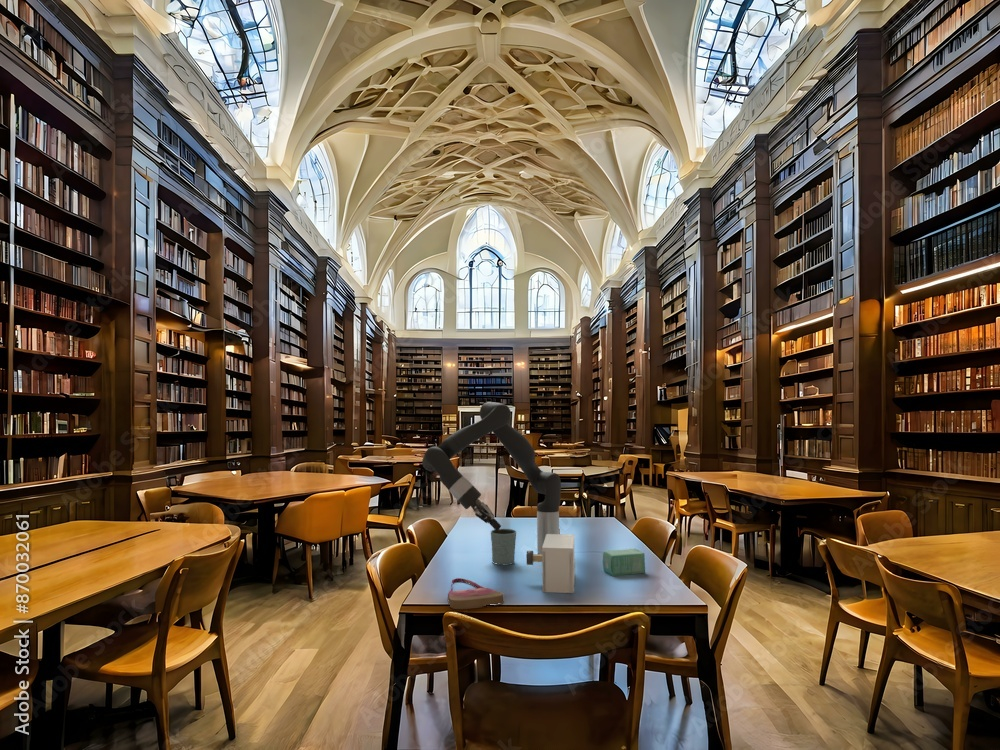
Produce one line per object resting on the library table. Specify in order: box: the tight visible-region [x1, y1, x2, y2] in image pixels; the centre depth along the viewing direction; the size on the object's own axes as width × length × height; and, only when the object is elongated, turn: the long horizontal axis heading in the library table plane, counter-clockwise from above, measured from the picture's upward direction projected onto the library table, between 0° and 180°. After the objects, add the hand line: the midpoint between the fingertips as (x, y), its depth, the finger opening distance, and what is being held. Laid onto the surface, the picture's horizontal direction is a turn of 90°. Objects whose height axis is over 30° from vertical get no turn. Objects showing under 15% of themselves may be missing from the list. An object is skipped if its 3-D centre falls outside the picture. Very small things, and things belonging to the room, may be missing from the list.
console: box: [541, 533, 576, 594], centre depth 190 cm, size 22×10×14 cm, turn 172°
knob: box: [526, 550, 542, 566], centre depth 191 cm, size 5×8×5 cm, turn 82°
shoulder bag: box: [447, 577, 504, 610], centre depth 178 cm, size 17×3×28 cm
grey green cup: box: [490, 528, 517, 565], centre depth 217 cm, size 10×10×12 cm
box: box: [602, 548, 646, 577], centre depth 203 cm, size 7×14×8 cm, turn 105°
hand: (499, 528), depth 194 cm, fingers closed
